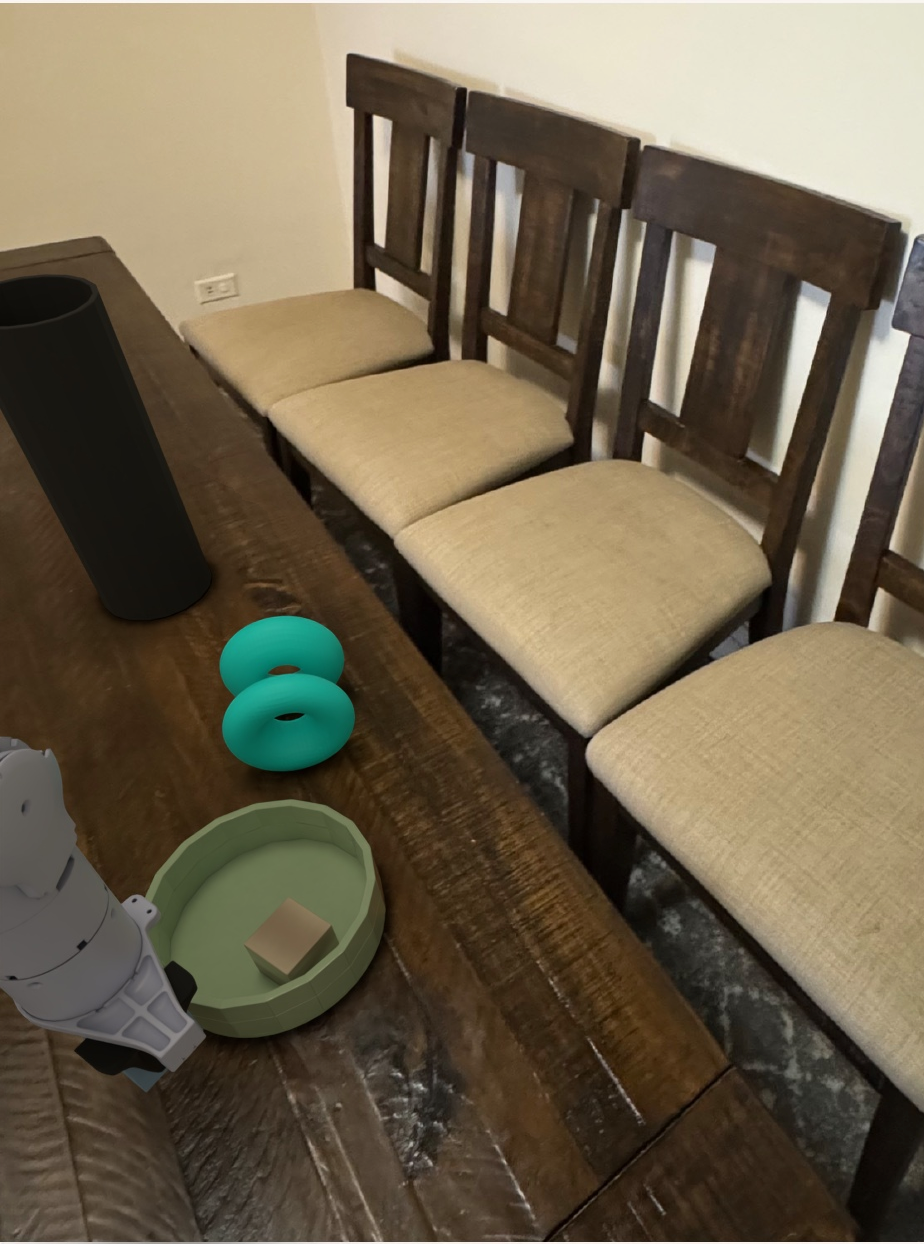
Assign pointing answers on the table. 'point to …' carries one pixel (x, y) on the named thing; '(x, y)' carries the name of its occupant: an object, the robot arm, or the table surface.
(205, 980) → the green shallow bowl
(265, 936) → the brown block
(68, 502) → the vase
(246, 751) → the donuts
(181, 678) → the table surface
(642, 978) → the table surface
